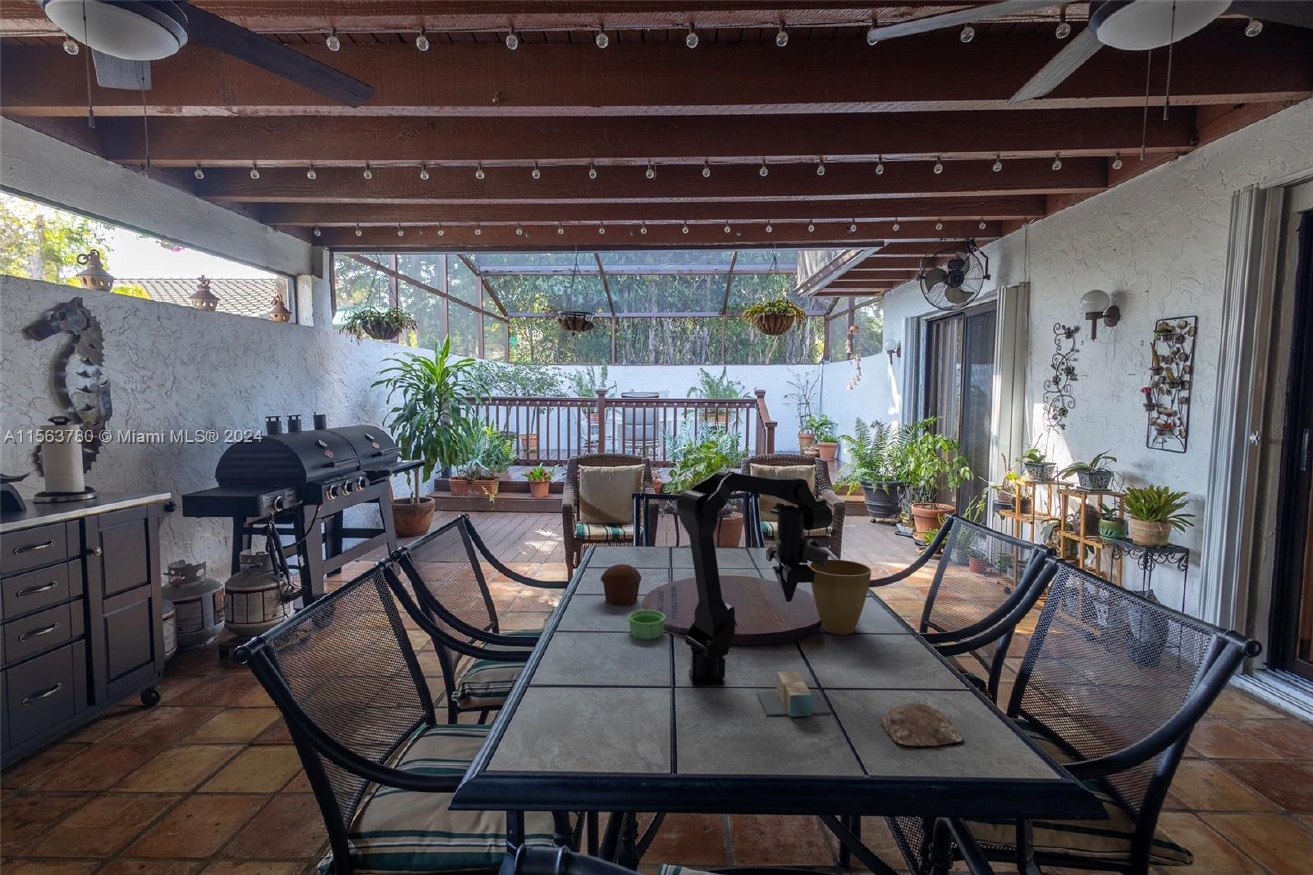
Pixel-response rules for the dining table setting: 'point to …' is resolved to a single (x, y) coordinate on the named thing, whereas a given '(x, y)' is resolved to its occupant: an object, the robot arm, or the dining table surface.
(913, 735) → the shell
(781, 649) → the dining table surface
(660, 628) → the ramekin
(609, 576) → the muffin
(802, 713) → the oak block
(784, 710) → the mat
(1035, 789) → the dining table surface
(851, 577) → the plant pot
